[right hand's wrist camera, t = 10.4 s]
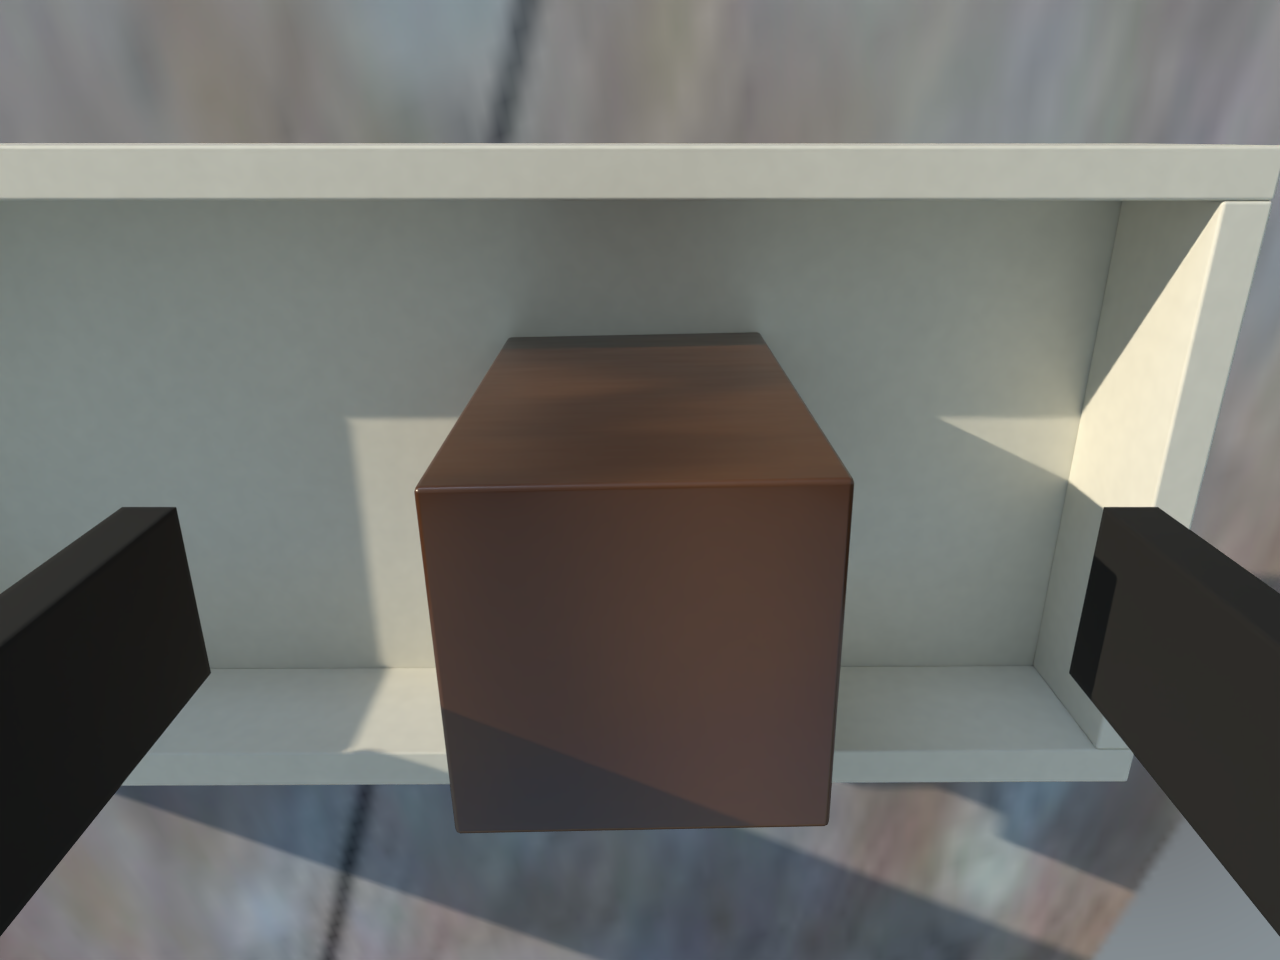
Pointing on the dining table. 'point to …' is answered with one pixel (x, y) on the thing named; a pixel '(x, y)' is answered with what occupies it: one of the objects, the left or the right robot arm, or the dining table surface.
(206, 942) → the dining table surface
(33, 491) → the tray
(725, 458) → the walnut block
